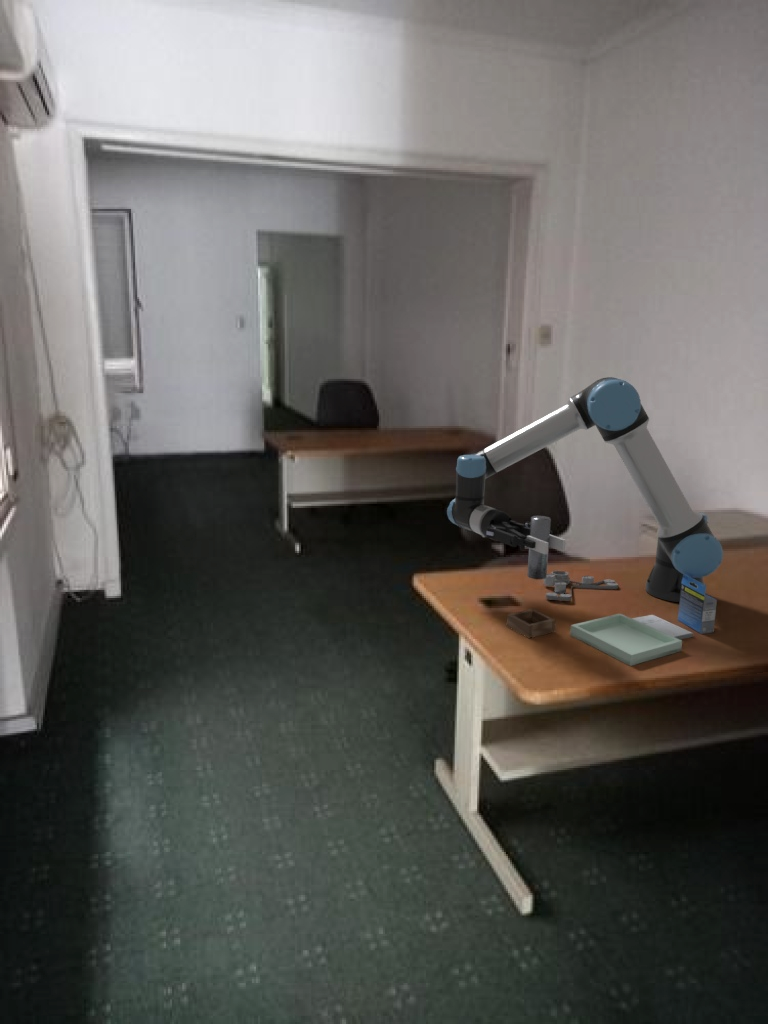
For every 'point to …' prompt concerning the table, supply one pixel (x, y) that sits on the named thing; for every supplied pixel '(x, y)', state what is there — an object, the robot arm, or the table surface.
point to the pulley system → (562, 580)
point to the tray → (626, 639)
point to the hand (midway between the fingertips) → (555, 547)
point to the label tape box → (696, 606)
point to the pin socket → (537, 628)
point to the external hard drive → (664, 626)
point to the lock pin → (536, 559)
